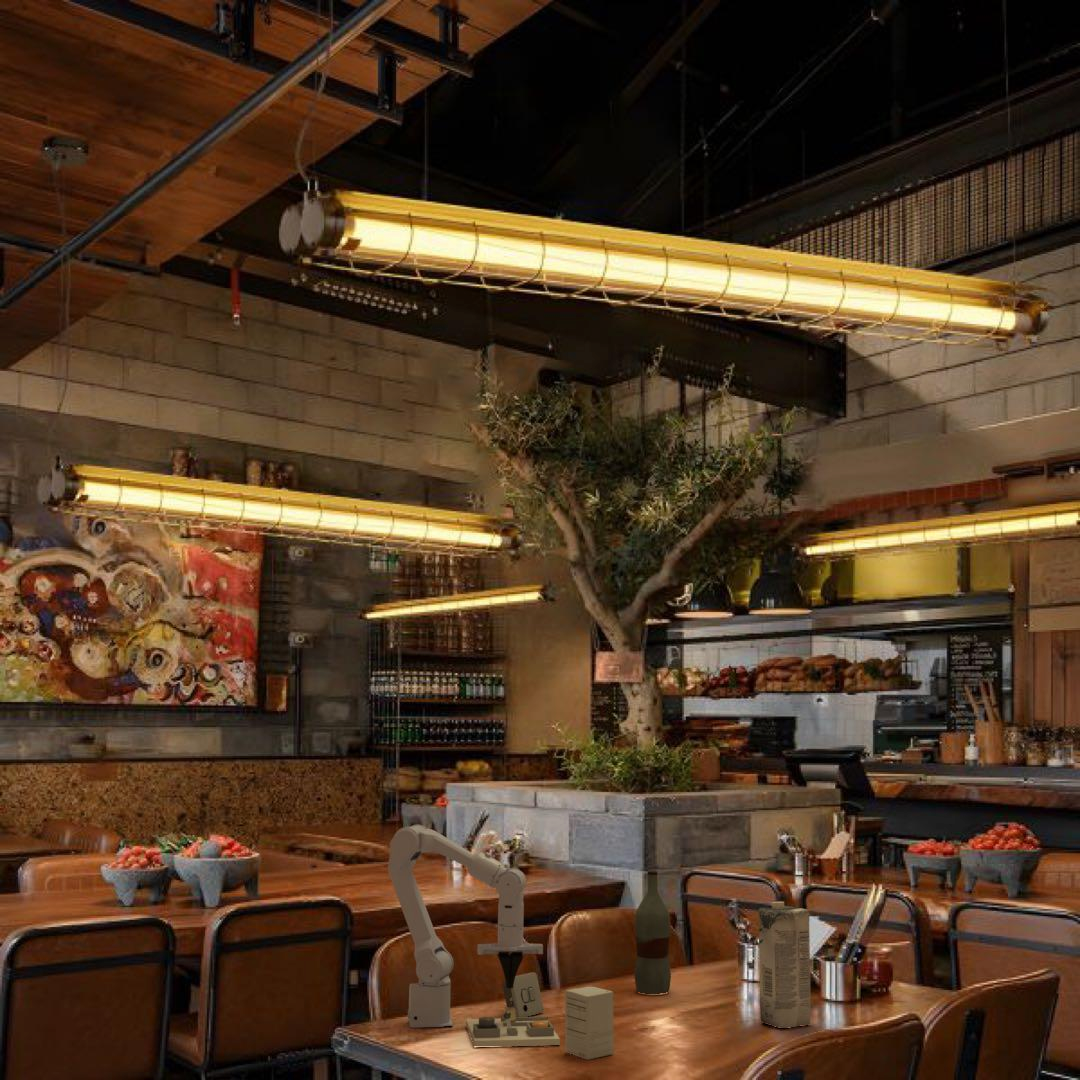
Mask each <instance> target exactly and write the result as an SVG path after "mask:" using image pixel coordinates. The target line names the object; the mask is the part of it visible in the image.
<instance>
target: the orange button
mask: <svg viewBox="0 0 1080 1080" xmlns="http://www.w3.org/2000/svg"><path fill="white" fill-rule="evenodd" d="M542 1027H548V1022H546V1021H534V1022H532V1028H542Z"/></svg>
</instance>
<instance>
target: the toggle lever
mask: <svg viewBox="0 0 1080 1080" xmlns="http://www.w3.org/2000/svg"><path fill="white" fill-rule="evenodd" d="M502 1016H503V1018H505V1019H506V1023H507V1028H508V1030H512V1028H511V1022H510V1017H511V1014H510V1012H505V1011H504V1012H503V1015H502Z"/></svg>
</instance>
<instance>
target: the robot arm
mask: <svg viewBox="0 0 1080 1080" xmlns="http://www.w3.org/2000/svg"><path fill="white" fill-rule="evenodd" d="M389 847H390V850H389V851H390V852H389V856H388V857H389V858H388V866H387V871H388V875H389V878H390V880H391V883H392V886H393V888H394V891H395V894H396V896H397V899H398V903H399V905H400V908H401V911H402V913H403V916H404V920H405V921H406V924H407V926H408V930H409V933H410V935H411V937H412V941H413V943H414V951H413V956H414V960H415V962H416V964H415V965H416V967H415V972H416V973H415V974H416V977H417V978H418V982H417V983H410V984H409V987H408V989H409V990H408V991H409V993H408V1010H407V1019H408V1023H409V1028H445V1027H444V1026H452V1027H454V1024H453V1021H452V1019H451V984H452V983H451V978H450V976H449V975H450V973H451V972H452V971H453V969H454V963H455V962H454V958H453V956H452V954H451V953H450V952H449V951H448V950H447V949H446V947H445V946H444V943H443V942H442V940H441V939H440V938H439V937H438V936H437V933H436V931H435V928H434V926H433V923H432V921H431V917H430V915H429V912H428V910H427V906H426V904H425V901H424V899H423V895H422V893H421V890H420V888H419V884H418V883H417V880H416V877H415V875H414V872H413V869H414V867H415V865H416V863H417V861H418V859H419V857H420V856H421V855H422V854H425V853H427V854H428V853H437V854H440V855H441V856H443V857H446V858H447V859H449V860H451V861H454V862H455V863H458V864H460V865H462V866H464V867H466V869H467V871H468V875H469V876H471V877H472V878H474V879H476V880H478V881H480V882H482V883H483V884H485V885H487V886H489V887H491V888H492V889H494V888H495V889H496V892H497V893H498V907H497V908H498V910H497V912H498V913H497V914H498V915H497V943H484V944H483V943H479V944H477V955H478V956H479V955H480V956H481V955H496V956H497V958H498V960H499V962H500V965H501V969H502V972H503V975H504V979H505V982H506V988H513V985H514V980H515V976H517V972H518V970H519V968H520V966H521V964H522V961H523V959H524V956H523V954H524V955H525V954H527V955H528V954H531V955H532V954H534V955H535V954H537V955H543V954H544V952H543V951H544V948H543V947H544V945H543V943H529V942H528V943H525V942H524V915H525V914H524V912H525V910H524V909H525V907H524V906H525V905H524V890H525V889H526V887H527V877H526V875H525V873H524V872H523V871H522V870H520V869H519V867H510V864H509V863H507V862H506V863H502V862H500V861H499V860H497V859H496V858H494V857H492V853H490V852H488V851H487V852H482V851H481V852H477V853H475V854H474V853H472V852H470V851H469V850H468V849H466V848H464V847H462V846H461V845H459V844H458V843H456V842H454V841H452V840H451V839H449V838H448V837H446V836H444V835H443V834H441V833H439V832H437V831H435V830H434V829H431V828H427V827H426V826H424V825H422V824H418V823H417V824H413V825H411V826H408V827H407V826H405V827H401V828H400V829H398V830H397V831H396V832H395V833H394V835H393V837H392V839H391V840H390V842H389Z"/></svg>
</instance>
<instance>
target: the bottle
mask: <svg viewBox="0 0 1080 1080" xmlns="http://www.w3.org/2000/svg"><path fill="white" fill-rule="evenodd" d="M646 872H647V890H646V893H645V895H644V897H643V899H642V901H641V902H640V904H639V905H638V907H637V908H636V912H635V915H634V931H635V932H634V933H635V946H636V960H635V969H634V985H635V989H636V993H637V992H640V993H645V994H660V993H666V992H668V991H669V992H670V987H671V979H672V975H671V974H672V973H671V964H670V958H669V951H670V937H671V935H670V934H671V928H672V925H671V916H670V913H669V909H668V907H667V906H666V903H665V902H664V900H663V899H662V897H661V895H660V894H659V892H658V885H659V884H658V873H659V871H658V870H657V869H648V870H647V871H646ZM669 992H668V993H669Z"/></svg>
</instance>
